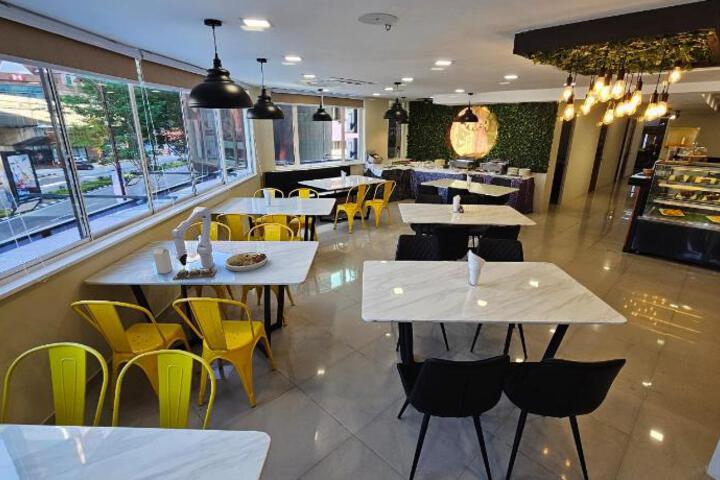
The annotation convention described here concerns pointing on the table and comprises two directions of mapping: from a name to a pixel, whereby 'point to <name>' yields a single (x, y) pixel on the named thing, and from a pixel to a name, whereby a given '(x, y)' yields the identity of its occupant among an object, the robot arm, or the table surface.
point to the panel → (195, 274)
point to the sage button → (182, 270)
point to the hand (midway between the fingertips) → (184, 265)
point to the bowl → (246, 261)
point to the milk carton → (162, 260)
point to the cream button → (194, 270)
